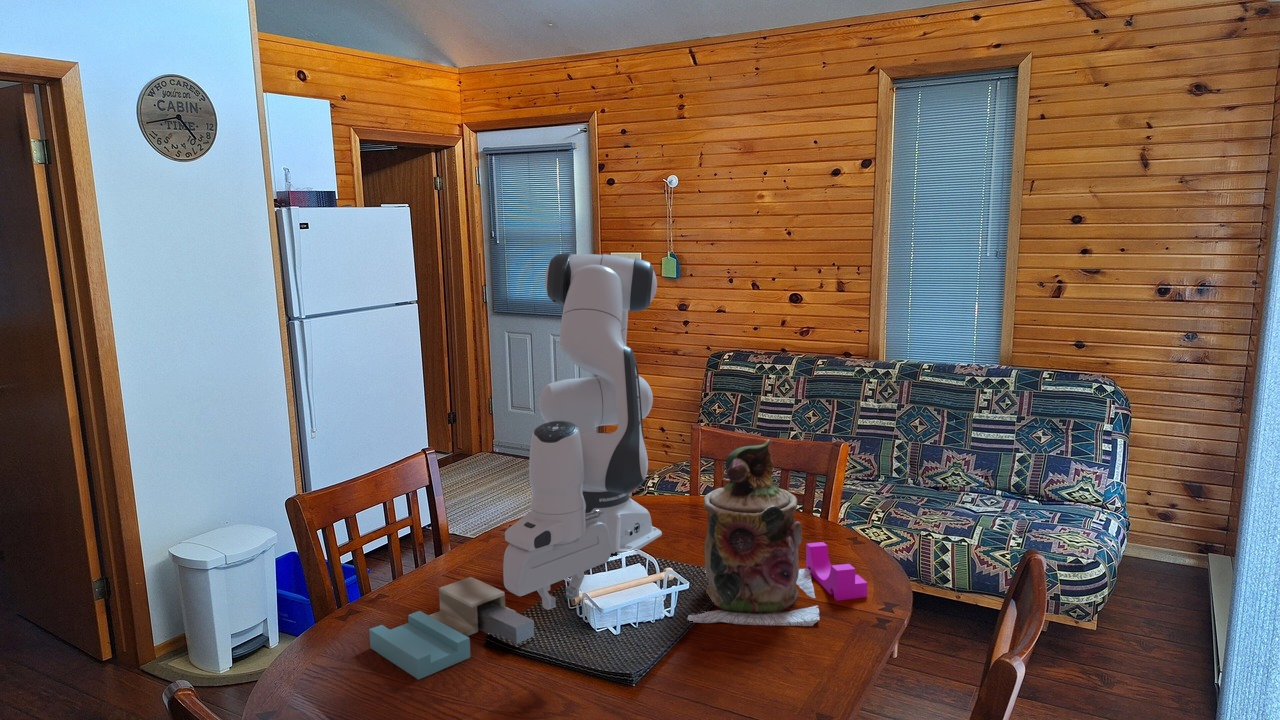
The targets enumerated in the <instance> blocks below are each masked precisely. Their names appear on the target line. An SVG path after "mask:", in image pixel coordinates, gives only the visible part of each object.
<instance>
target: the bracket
mask: <svg viewBox="0 0 1280 720" xmlns="http://www.w3.org/2000/svg"><path fill="white" fill-rule="evenodd" d="M438 596H439V611H436V612H433V613H432V614H428V616H430V617H432V618H434V619H436V620H438V621H439V622H441V623H443V624H445V625H447V626H449V627H450V628H452V629H454V630H456V631H458V632H460V633H461V634H463V635H465V636H467V637H469V636H473V635H474V634H476V633H478V632H479V630H478V617H477V606H478V605H480V604H483V603H486V602H488V601H491V602H493V603H495V604H498V605H500V606H502V607H504V608H507V609H509V610H511V611H514V612H516V613H517V611H516V610H514V609H511V607H508V606H506V594H505V591H504V590H501V589H499V588H496V587H494V586H492V585H491V584H488V583H486V582H483V581H481V580H479V579H477V578H474V577H472V576H469V577H466V578H463V579H461V580H458V581H455V582H452V583H449V584H446V585H443V586H440V587H438Z"/></svg>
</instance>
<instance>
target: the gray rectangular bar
mask: <svg viewBox="0 0 1280 720" xmlns="http://www.w3.org/2000/svg"><path fill="white" fill-rule="evenodd" d="M514 611H515V610H514ZM514 611H511V610H509V609H507V608H504V607H502V606H500V605H498V604H495V603H493V602H491V601H488V602H486V603H483V604H480V605H478V606H477V617H478V631H480V632H483V633H484V634H487V635H489V634H488V633H497V634H499V635H501V636H503V637H505V638H507V639H509V640H511V641H512V642H514V643H516V644H518V643H520V642H522V641H525V640H527V639H529V638H531V637H533V636H534V637H535V621H534V619H531V618H529V617H528V616H525V615H522V614H520V613H519V612H517V611H516V612H514Z"/></svg>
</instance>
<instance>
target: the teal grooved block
mask: <svg viewBox="0 0 1280 720" xmlns="http://www.w3.org/2000/svg"><path fill="white" fill-rule="evenodd" d="M407 616H408V617H407V619H408V620H407V621H408V622H407V623H405V624H402V625H399V626H397V627H394V628H392V629H390V628H388V627H386V626H385V625H383V624H380V625H377V626H374V627H371V628H369V629H368V633H369V645H370V647H369V648H370V649H371V650H373V651H374V652H376V653H377V654H379V655H380V656H382V657H383V658H384V659H386V660H388V661H389V662H391V663H392V664H394V665H395V666H397V667H399V669H401V670H403V671H404V672H406V673H407V674H409V675H411V676H412V677H414V678H415V679H417V680H418V681H419V680H422V679H424V678H426V677H428V676H431V675H433V674H435V673H438V672H440V671H442V670H444V669H447V668H449V667H451V666H454V665H456V664H459V663H461V662H463V661H465V660H467V659H470V658H471V639H470V637H469V636H465V635H463V634H461V633H460V632H458V631H456V630H454V629H452V628H450V627H449V626H447V625H445V624H443V623H441V622H439V621H438V620H436V619H434V618H432V617H430V616H429V614H427V613H424V612H423V611H421V610H418V611H415V612H413V613H410V614H408V615H407Z"/></svg>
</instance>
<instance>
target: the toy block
mask: <svg viewBox="0 0 1280 720" xmlns="http://www.w3.org/2000/svg"><path fill="white" fill-rule="evenodd" d="M805 545H806V546H805V548H806V549H805V551H806V553H805V556H806V558H805V562H806V563H805V569H810V570H811V577H813V578H814V579H815V580H816V581H817V582H818V583H819V585H820V586H821V587H822V588H824V589H825V590H826V592H828V594H830V595H831V596H832V595H833V599H834V600H835V601H836V602H838V601H844V600H853V599H859V598H860V599H861V598H868V582H867V581H866V580H865V579H864V578H862V577H861V576H860V575H859V574H856V568H855V567H854V566H852V565H851V564H850V563H844V564H842V563H841V564H835V565H833V564H831V561H830V557H829V551H828V544H826V543H825V542H824V541H819V542H810V543H809V542H808V543H807V542H806V544H805Z"/></svg>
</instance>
